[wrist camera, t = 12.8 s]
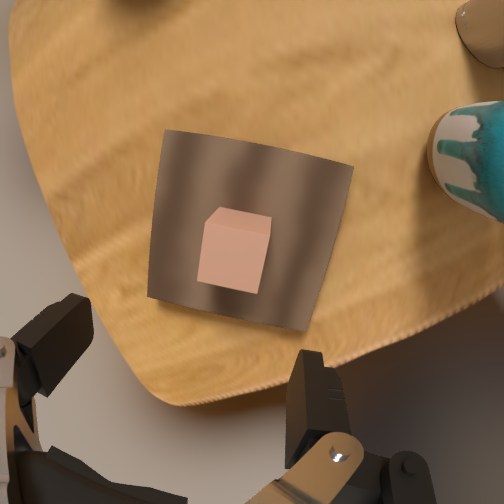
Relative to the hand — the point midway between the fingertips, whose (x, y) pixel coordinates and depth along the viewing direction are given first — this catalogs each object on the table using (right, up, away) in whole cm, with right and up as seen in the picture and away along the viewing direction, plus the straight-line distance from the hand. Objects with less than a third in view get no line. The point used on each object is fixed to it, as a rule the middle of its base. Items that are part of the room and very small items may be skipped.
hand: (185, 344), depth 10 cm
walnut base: (+1, +6, +22) cm, 23 cm away
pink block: (+1, +5, +19) cm, 20 cm away
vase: (+25, +14, +17) cm, 33 cm away
